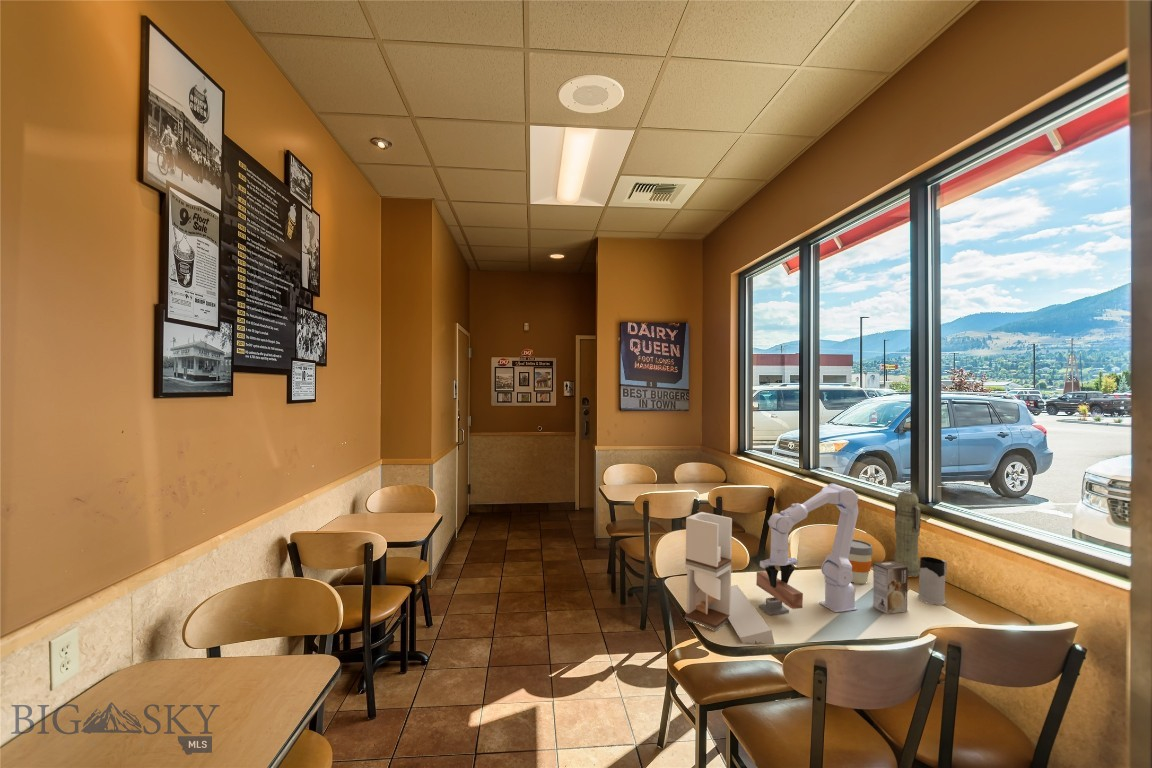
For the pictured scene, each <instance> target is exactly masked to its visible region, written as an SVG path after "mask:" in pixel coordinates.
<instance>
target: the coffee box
mask: <svg viewBox="0 0 1152 768" xmlns="http://www.w3.org/2000/svg"><path fill="white" fill-rule="evenodd" d="M872 573H873V574H872V575H873V578H872V580H873V581H872V582H873V584H872V587H873V588H872V589H873V590H872V591H873V592H872V593H873V597H872V598H873V599H872V600H873V601H872V606H873V608H875V609H877V610H879V611H881V612H883V613H885V614H887V615H890V614H897V613H902V612H903V613H904V612H908V578H909V577H908V567H906V566H903V565H901V564H898V563H896V562H894V561H882V562H873V572H872Z"/></svg>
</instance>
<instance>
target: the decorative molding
mask: <svg viewBox="0 0 1152 768" xmlns="http://www.w3.org/2000/svg"><path fill="white" fill-rule="evenodd" d="M728 619H729V624H730V625H731V626H732V628H733V630H734V632H736V634H737V637H738V638H739V640H740V641H741V643H742V644H760V643H761V644H762V643H763V644H765V645H775V639H774V636H773V632H772V631H773V630H772V629H771V628H770V626H769V625H768V624H767V622H766V621H765V619H764V618H763V617H762V615H760V613H759V611H758V610H757V609H756V608H755V606H753V604H752V602H751V601H750V600H749V598H748V597H747V596H746V595H745V594H744V591H742V589H741V588H740V587H739V585H738V584H736V585H731V612H730V616H729V617H728Z"/></svg>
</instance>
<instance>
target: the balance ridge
mask: <svg viewBox="0 0 1152 768" xmlns="http://www.w3.org/2000/svg"><path fill="white" fill-rule="evenodd" d="M758 608H759V609H760V610H762V611H763V612H764V613H765V614H766V615H769V616H775V615H776V616H777V615H781V614H783V615H784V614H789V613H790V609H788V608H786V607H785V606H784V605H783V602H781V601H780V600H778V599H777V598H775V597H774V596H772V597H766V598H765V604H764V603H763V604H758Z"/></svg>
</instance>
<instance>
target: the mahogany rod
mask: <svg viewBox="0 0 1152 768" xmlns="http://www.w3.org/2000/svg"><path fill="white" fill-rule="evenodd" d="M755 581H756V586H757V587H759V588H760V589H761V590H763V591H764V592H766V593H768V594H769V595H771V596H772V597H775V598H777V599H778V600H780V601H781V602H782V604H784V605H786V607H789V608H790V609H792V610H795V609H796V610H798V609H803V605H804V604H803V602H804V598H803V597H804V593H803V592H802V591H800V590H798V589H797V588H794V587H793V586H792V585H789V583H788V584H787V583H785V582H783V581H782V580H781V578H778V577H777V579H776V588H774V587H772V586H771V585H770V581H769V577H768V574H767V572H766V570H763V571H756V580H755Z"/></svg>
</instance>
